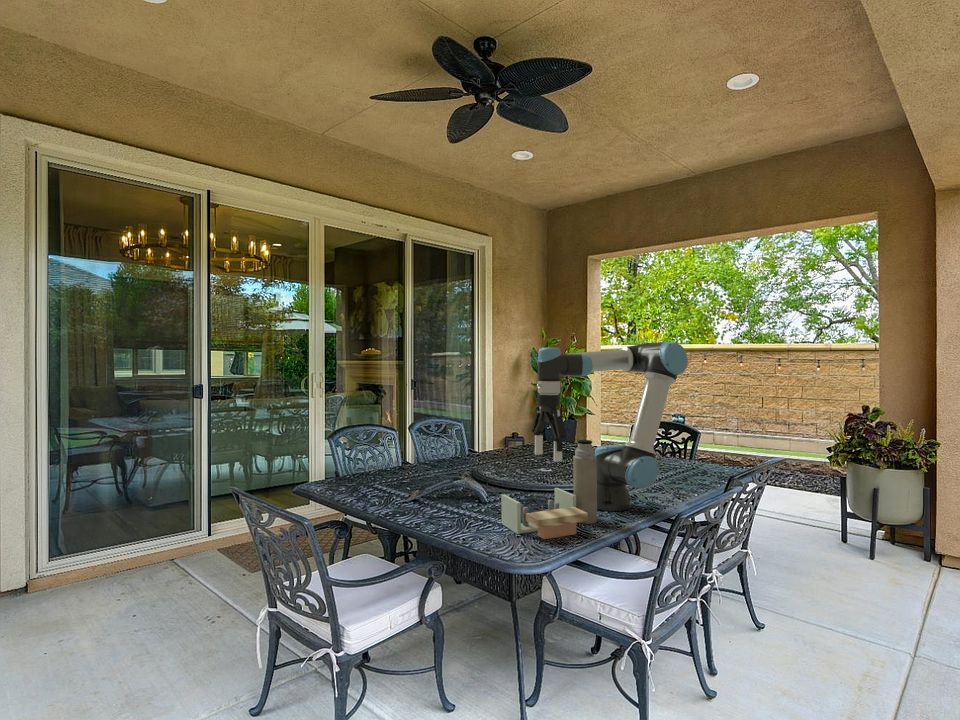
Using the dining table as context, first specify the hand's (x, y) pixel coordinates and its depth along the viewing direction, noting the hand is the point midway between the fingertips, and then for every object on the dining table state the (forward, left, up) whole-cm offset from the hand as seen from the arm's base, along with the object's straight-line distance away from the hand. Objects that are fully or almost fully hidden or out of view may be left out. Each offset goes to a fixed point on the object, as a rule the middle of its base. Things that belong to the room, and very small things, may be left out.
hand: (547, 457), depth 181 cm
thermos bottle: (-16, -3, -24) cm, 29 cm away
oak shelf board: (+1, +6, -19) cm, 20 cm away
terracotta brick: (+1, +6, -24) cm, 25 cm away
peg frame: (+1, -6, -24) cm, 24 cm away
